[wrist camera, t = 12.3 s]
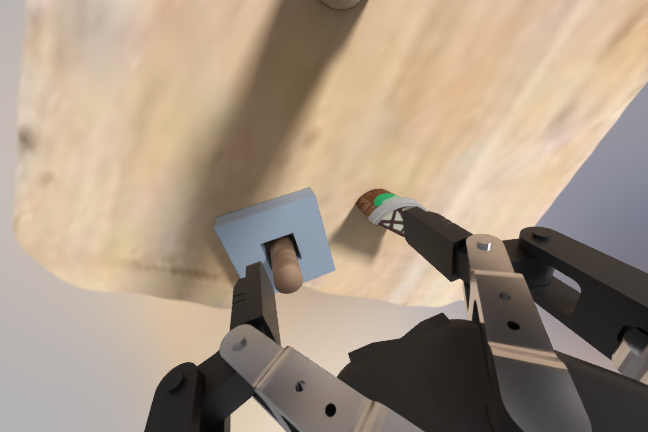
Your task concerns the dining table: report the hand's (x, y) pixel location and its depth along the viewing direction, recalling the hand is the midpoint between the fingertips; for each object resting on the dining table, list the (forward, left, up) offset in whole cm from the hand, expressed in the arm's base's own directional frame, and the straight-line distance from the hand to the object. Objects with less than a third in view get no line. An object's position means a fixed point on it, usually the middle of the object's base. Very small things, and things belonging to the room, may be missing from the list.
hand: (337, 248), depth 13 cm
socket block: (+5, +15, -28) cm, 32 cm away
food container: (-16, +14, -28) cm, 35 cm away
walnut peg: (+5, +15, -28) cm, 32 cm away
